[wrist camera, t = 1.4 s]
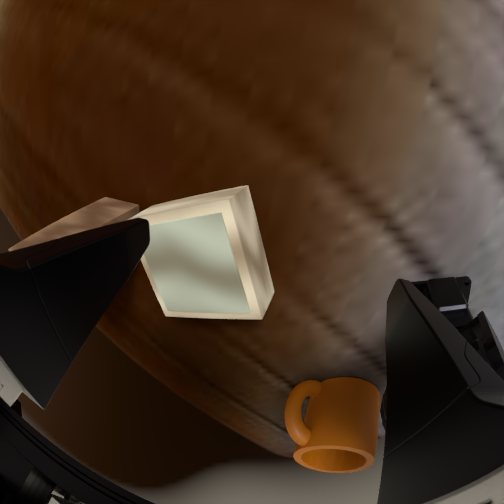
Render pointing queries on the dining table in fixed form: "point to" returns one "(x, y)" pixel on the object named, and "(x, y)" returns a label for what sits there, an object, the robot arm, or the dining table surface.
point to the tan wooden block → (83, 221)
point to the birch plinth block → (208, 256)
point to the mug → (334, 424)
